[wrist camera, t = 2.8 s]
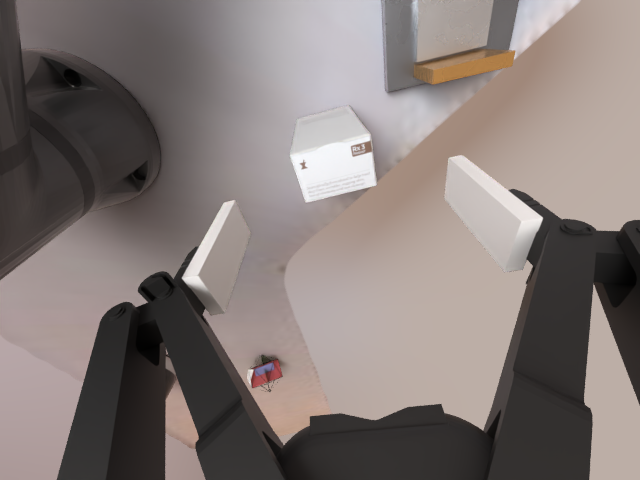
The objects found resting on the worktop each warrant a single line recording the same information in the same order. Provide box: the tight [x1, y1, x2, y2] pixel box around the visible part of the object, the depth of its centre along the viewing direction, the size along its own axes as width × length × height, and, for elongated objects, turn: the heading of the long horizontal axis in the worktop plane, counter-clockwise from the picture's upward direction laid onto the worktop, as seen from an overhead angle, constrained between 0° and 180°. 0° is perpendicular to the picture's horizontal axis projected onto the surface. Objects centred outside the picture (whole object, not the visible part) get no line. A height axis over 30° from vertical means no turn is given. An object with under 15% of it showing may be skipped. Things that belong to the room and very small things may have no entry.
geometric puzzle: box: [247, 355, 283, 392], centre depth 57 cm, size 7×7×8 cm
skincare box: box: [290, 105, 377, 203], centre depth 24 cm, size 6×4×12 cm
